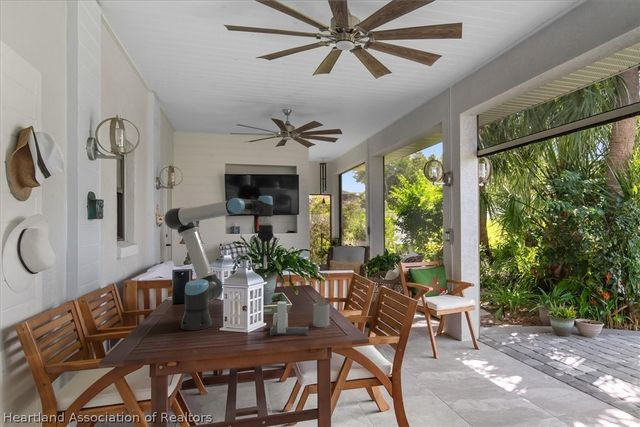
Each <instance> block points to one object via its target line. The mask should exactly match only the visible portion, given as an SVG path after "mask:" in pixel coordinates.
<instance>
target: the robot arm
mask: <svg viewBox="0 0 640 427" xmlns="http://www.w3.org/2000/svg"><path fill="white" fill-rule="evenodd" d="M273 200H274V199H273V196H271V195H259V196H258V199H245V198H239V197H236V198H234V197H233V198H231V199H229V200H223V201H218V202H213V203H208V204H203V205H198V206H194V207H188V208H186V207H177V208H175V207H174V208H171V209H168V210H167V211H166V212H165V215H164V219H163V220H164V223H165V226H167V228H169V229H171V230H176V231H177V233H178V236H180V237H182V238H183V241H184V245H185V247H186V250H187V253H188V256H189V259H190V263H191V264H192V268H193V270H194V272H195V273H194V274H195V276H196V278H195V279H194V280H189V281H187V282H186V284H185V286H184V313H183V317H182V319H181V322H180V329H182V330H185V331H201V330H205V329H208V328H211V326H212V323H213V322H212V318H211V315H210V312H209V302H212V301H215V300H217V299H218V298H220V297H221V296H222V295H223V293H224V290H223V288H222V284H223V285H224V282H223V280H221V279H220V278H218V276H217V273H216V272H214V271H212V268H211V265H210V262H209V259H208V256H207V254H206V251H205V249H204V246H203V243H202V240H201V236H200V235H199V234H200V233H199V230H200V226H199V224H200V221H204V220H206V221H207V220H209V219H216V218H220V217H227V216H231V215H237V214H242V215H245V214H246V215H247V214H250V215H251V214H257V215H258V233H257V236H255V237H253V240H254V242H255V245H256V250H257V256H261V263H263V270H266V269H268V263H269V262H270V256H272V255H274V250H275V247H276V246H275V245H276V242H277V240H278V237H277V236H275V235H274V231H273V230H274V228H273V226H274V225H273V221H274V214H273V212H274V211H273V210H274V208H273V207H274V202H273ZM259 240H260V242H261V248H260V244H259V243H260V242H259ZM271 241H272V243H271V248H270V242H271ZM265 243H266V246H265ZM265 247H266V248H265ZM265 250H266V255H265Z"/></svg>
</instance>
